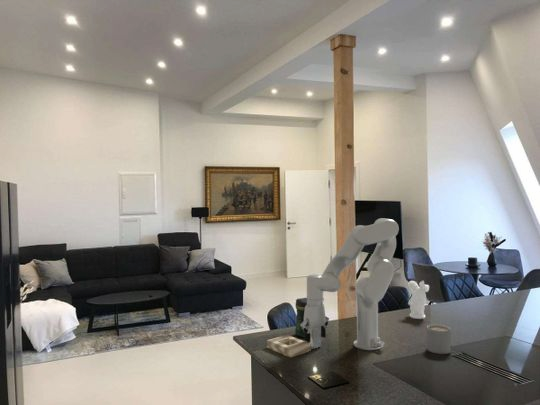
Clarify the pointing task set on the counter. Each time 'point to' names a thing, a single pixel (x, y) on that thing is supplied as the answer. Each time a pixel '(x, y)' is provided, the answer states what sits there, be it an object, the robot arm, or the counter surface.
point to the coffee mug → (438, 339)
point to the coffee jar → (300, 316)
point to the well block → (288, 345)
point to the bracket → (315, 337)
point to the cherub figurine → (417, 299)
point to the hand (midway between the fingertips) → (315, 339)
